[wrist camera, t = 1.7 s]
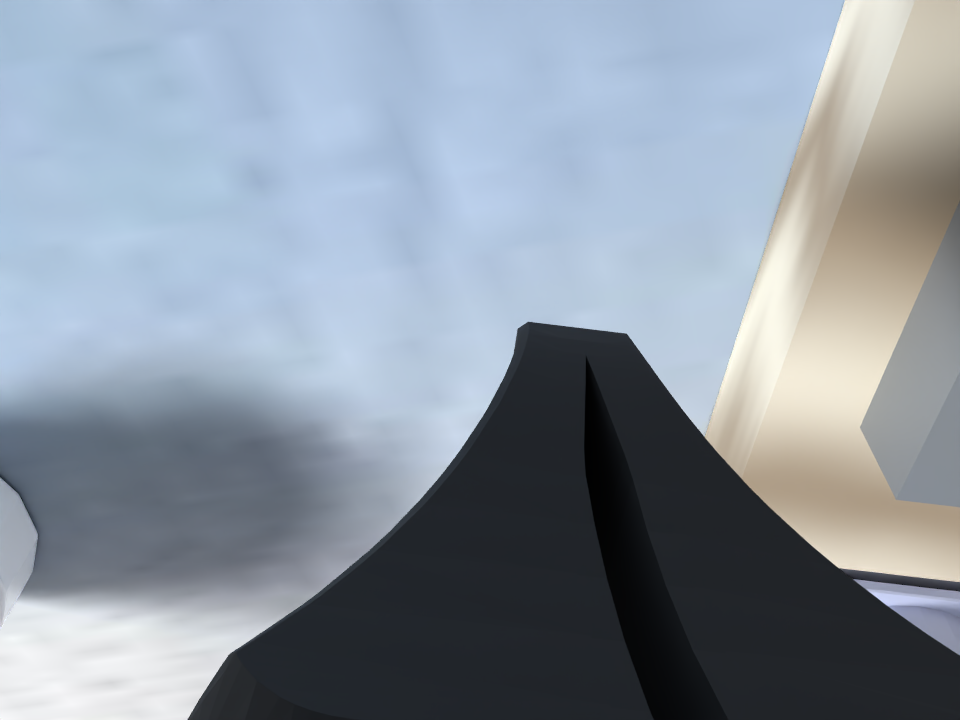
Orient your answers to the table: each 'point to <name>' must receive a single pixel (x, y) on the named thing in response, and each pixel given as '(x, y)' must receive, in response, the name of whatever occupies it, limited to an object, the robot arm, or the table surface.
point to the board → (850, 291)
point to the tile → (923, 390)
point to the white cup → (14, 548)
